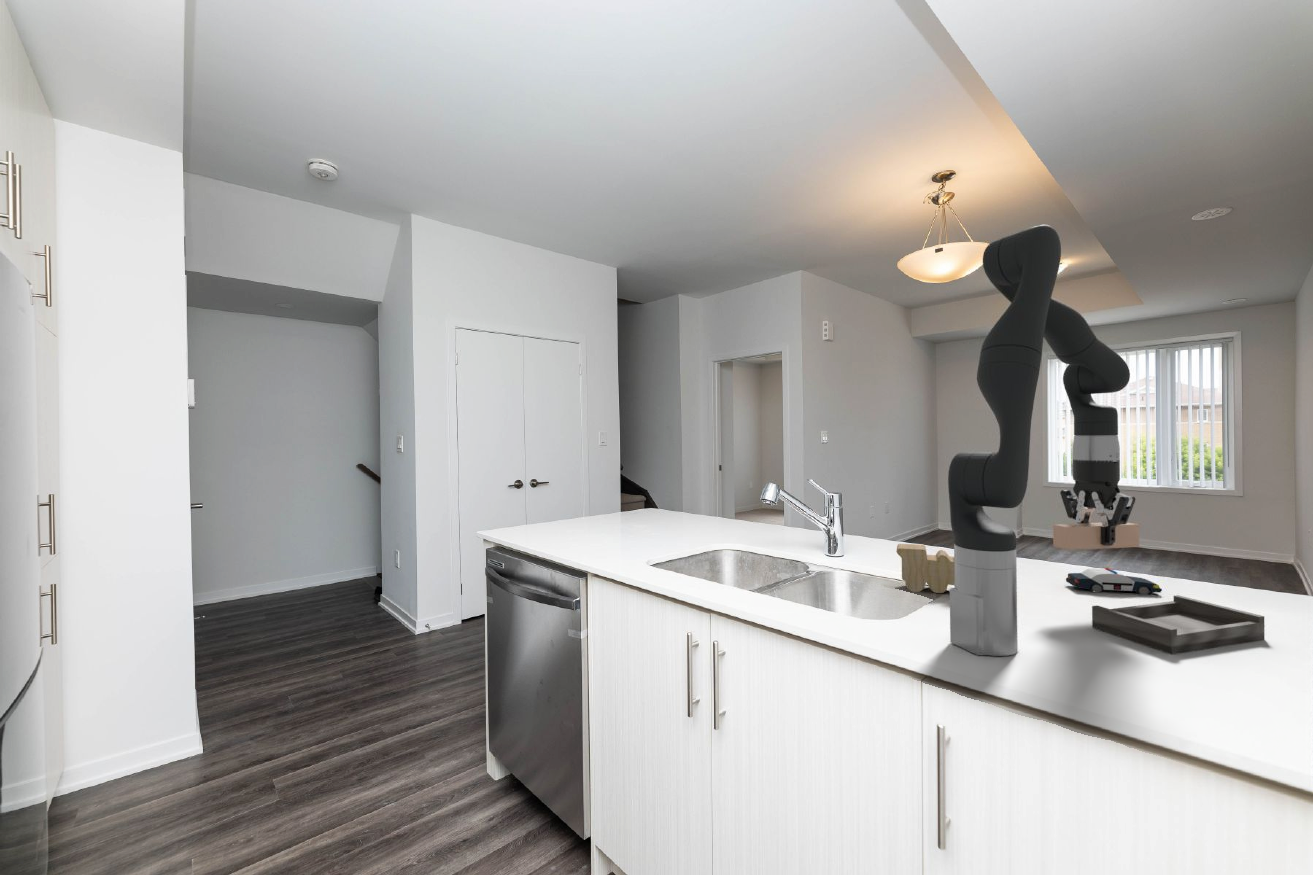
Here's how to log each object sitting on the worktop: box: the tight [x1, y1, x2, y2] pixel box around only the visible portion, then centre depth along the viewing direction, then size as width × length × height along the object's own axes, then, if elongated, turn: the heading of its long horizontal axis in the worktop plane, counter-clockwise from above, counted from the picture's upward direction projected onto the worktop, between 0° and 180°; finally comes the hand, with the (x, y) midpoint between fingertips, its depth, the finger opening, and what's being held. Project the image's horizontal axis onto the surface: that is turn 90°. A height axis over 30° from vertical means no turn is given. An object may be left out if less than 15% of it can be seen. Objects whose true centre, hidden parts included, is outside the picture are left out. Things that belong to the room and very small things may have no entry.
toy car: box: [1065, 567, 1163, 596], centre depth 127 cm, size 5×16×5 cm, turn 74°
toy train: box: [896, 543, 955, 594], centre depth 130 cm, size 6×17×10 cm, turn 66°
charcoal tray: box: [1091, 594, 1265, 655], centre depth 101 cm, size 21×13×4 cm, turn 104°
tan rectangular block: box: [1052, 522, 1140, 551], centre depth 114 cm, size 16×4×4 cm, turn 98°
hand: (1096, 542), depth 114 cm, fingers closed on tan rectangular block, 4 cm apart
